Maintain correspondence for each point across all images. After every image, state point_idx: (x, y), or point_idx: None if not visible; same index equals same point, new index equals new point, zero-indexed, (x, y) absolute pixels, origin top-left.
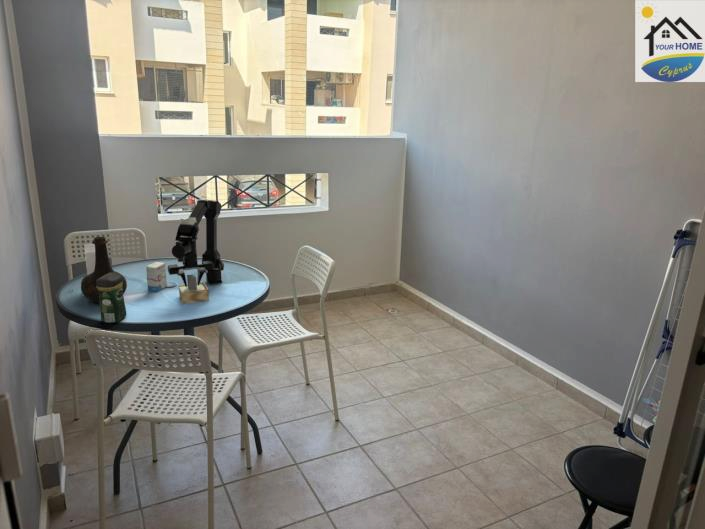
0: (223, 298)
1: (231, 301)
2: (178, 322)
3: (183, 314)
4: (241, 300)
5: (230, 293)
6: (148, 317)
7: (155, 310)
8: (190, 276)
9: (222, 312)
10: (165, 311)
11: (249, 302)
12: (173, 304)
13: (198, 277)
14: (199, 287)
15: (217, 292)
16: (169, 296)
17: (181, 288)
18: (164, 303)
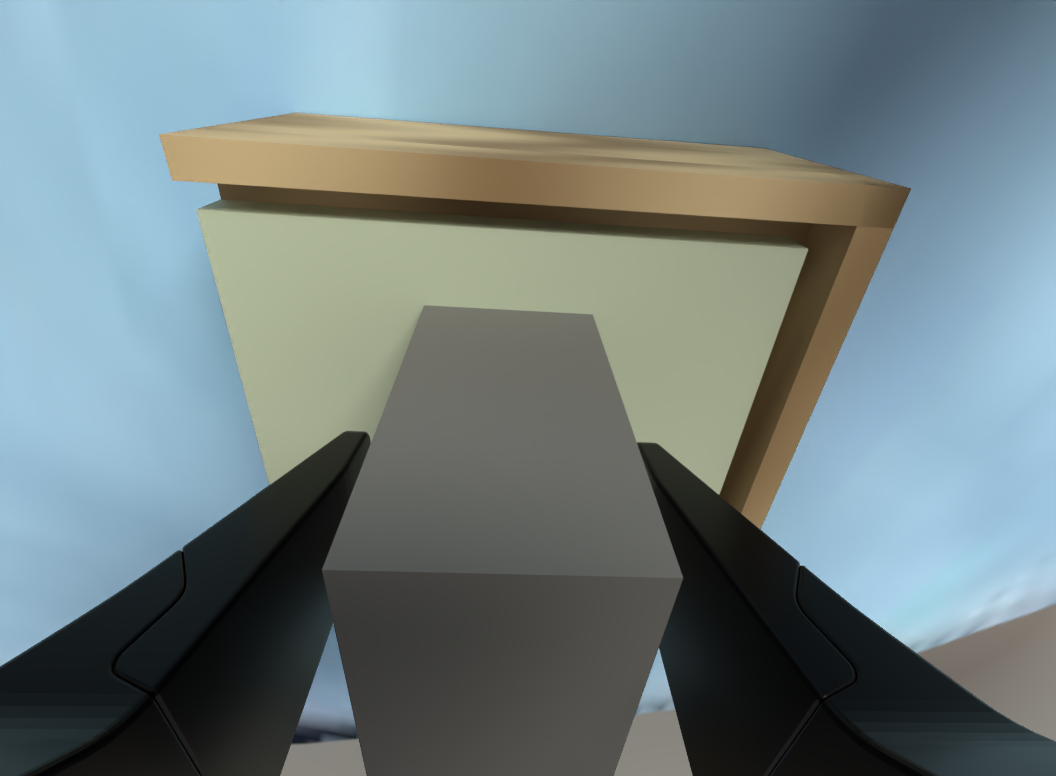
0: (846, 472)
1: (853, 567)
2: (294, 736)
3: (337, 655)
4: (947, 577)
5: (1049, 351)
6: (2, 619)
7: (17, 506)
8: (451, 735)
9: (646, 705)
10: (150, 561)
11: (959, 631)
12: (218, 421)
13: (699, 713)
14: (648, 433)
15: (950, 221)
16: (81, 5)
17: (267, 343)
18: (73, 340)
